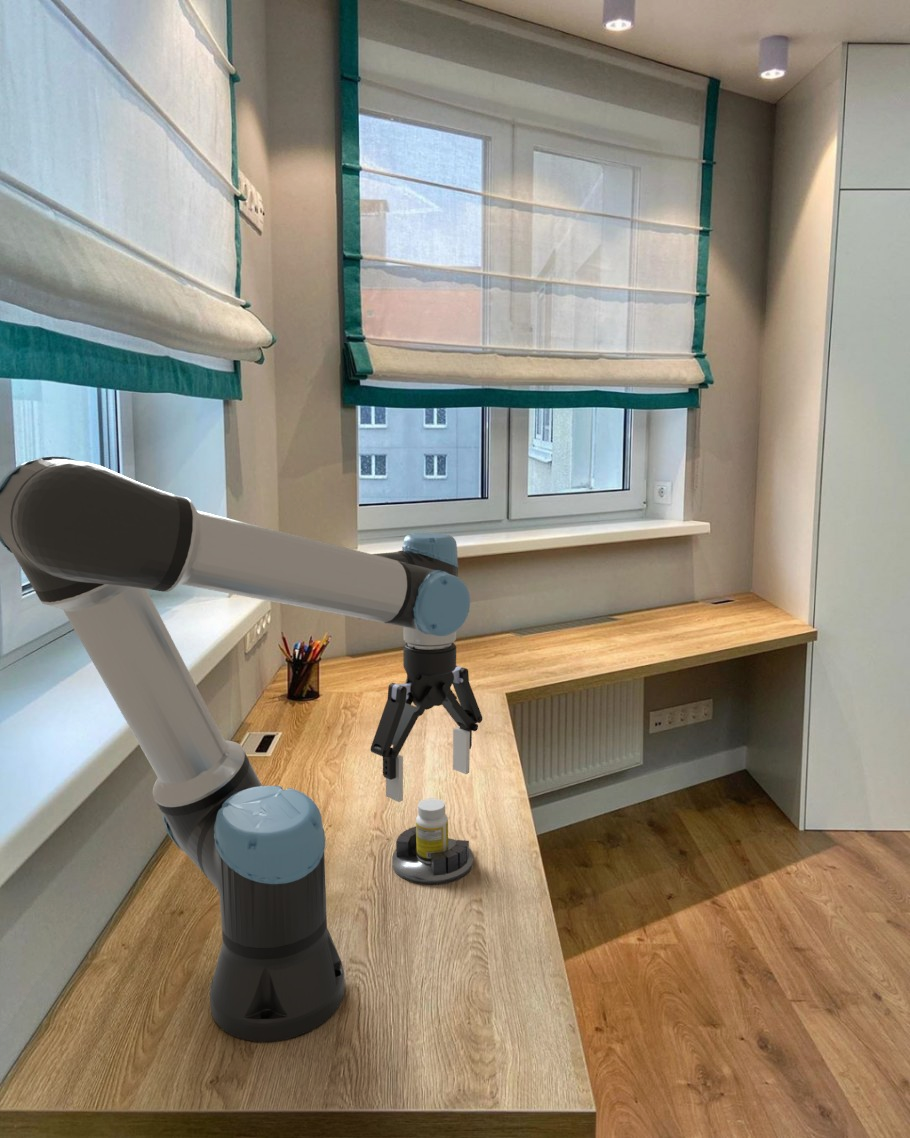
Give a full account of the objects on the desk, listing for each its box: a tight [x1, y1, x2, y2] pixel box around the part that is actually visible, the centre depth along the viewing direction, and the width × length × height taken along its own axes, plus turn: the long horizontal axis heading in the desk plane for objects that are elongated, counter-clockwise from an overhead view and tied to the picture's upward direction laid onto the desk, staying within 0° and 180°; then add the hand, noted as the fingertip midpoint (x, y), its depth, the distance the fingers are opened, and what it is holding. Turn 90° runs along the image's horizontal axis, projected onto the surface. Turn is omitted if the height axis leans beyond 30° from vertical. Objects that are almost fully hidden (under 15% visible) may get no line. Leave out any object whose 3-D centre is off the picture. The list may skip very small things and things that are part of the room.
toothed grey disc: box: [391, 825, 474, 886], centre depth 128 cm, size 12×12×4 cm
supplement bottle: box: [415, 798, 449, 864], centre depth 128 cm, size 5×5×8 cm
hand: (428, 784), depth 126 cm, fingers open, 13 cm apart
